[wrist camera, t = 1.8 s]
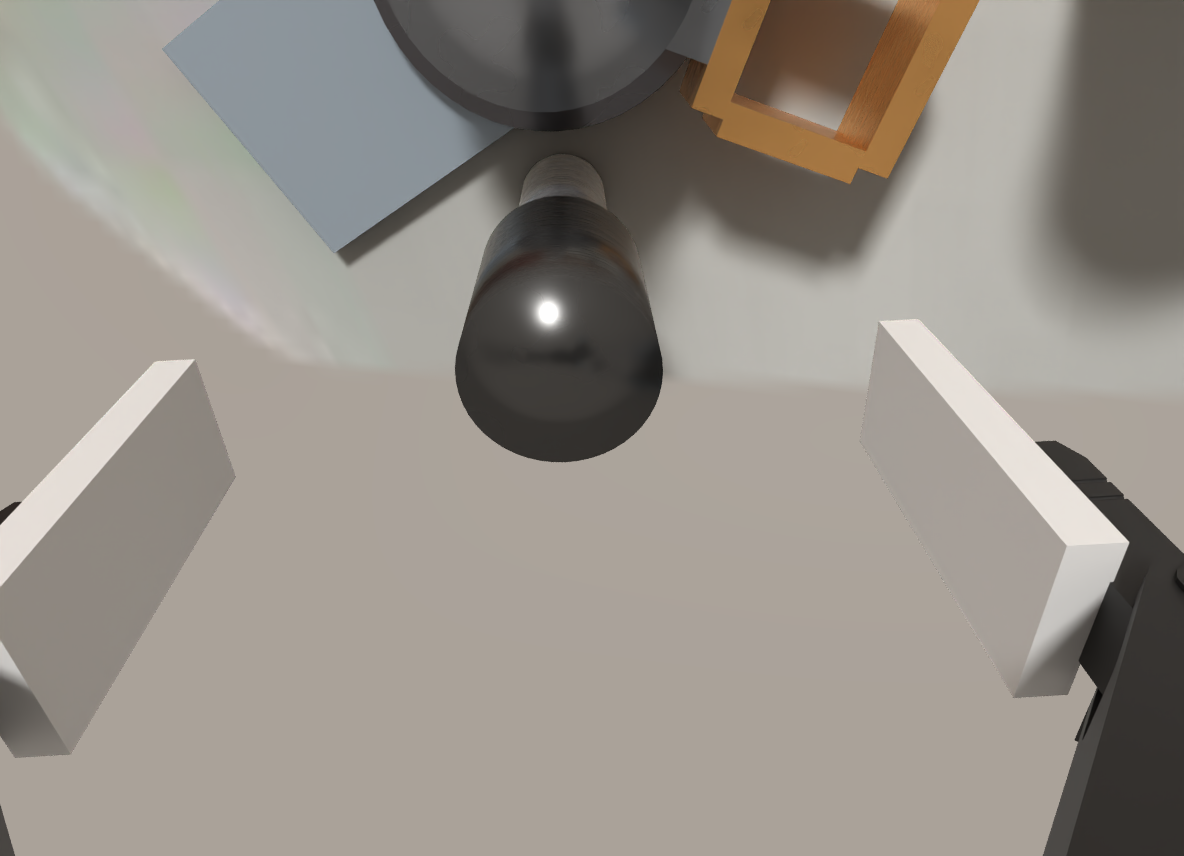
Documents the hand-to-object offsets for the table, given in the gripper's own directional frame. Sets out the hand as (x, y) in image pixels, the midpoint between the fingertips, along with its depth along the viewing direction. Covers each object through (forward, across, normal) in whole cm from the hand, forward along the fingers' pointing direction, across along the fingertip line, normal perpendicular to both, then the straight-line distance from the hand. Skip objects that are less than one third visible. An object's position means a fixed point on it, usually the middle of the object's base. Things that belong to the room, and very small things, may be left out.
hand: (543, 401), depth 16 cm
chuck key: (+15, 0, 0) cm, 15 cm away
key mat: (+15, +6, -4) cm, 17 cm away
